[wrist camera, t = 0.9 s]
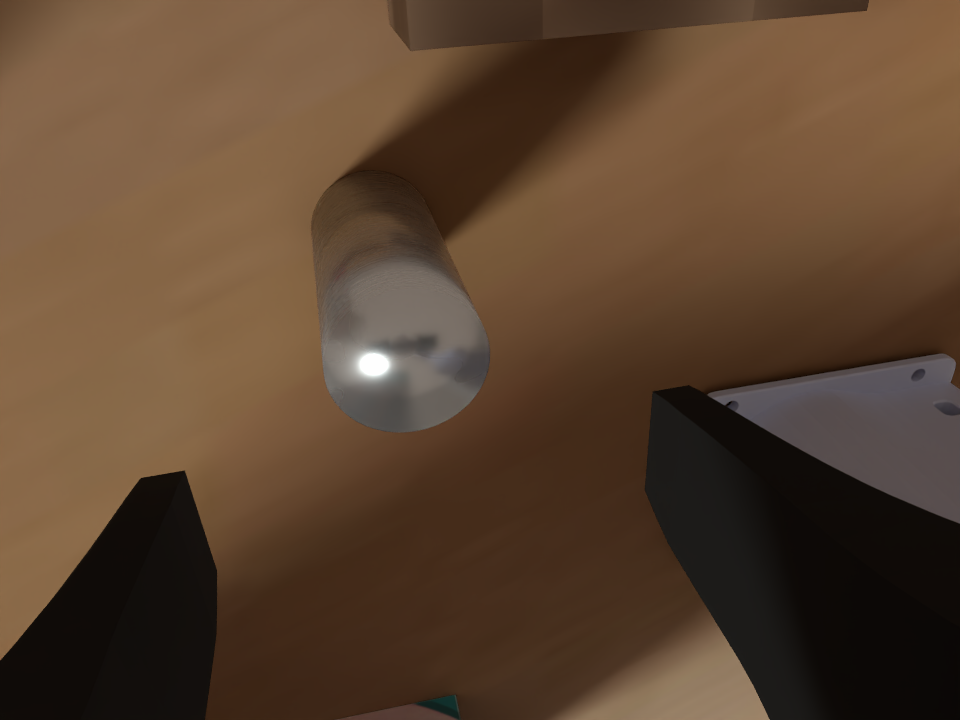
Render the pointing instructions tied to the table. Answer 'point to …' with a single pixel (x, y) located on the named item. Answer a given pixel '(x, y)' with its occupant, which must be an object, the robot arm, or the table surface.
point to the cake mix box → (416, 711)
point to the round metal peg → (392, 307)
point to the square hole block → (578, 17)
